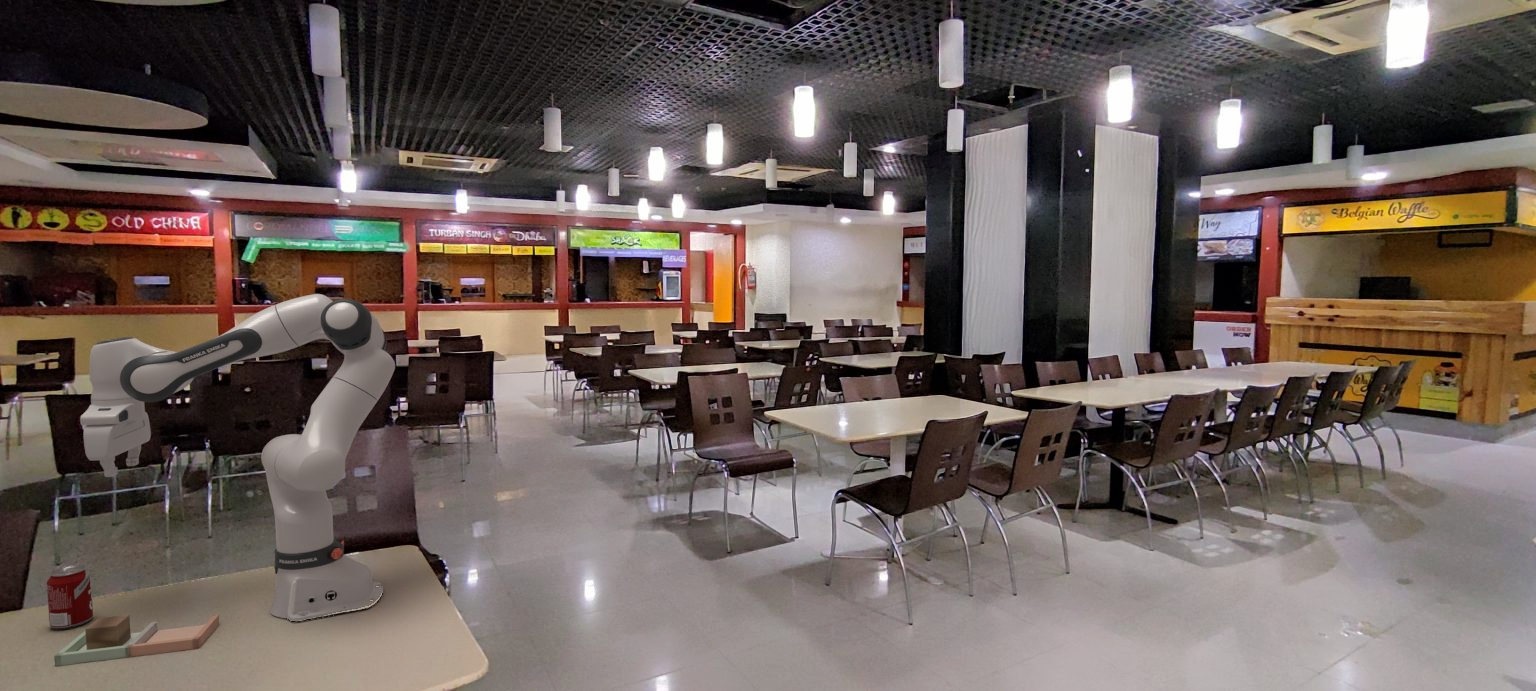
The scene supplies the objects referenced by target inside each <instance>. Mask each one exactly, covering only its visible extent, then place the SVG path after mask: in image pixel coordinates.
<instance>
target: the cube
mask: <svg viewBox="0 0 1536 691" xmlns="http://www.w3.org/2000/svg"><path fill="white" fill-rule="evenodd" d="M130 616H131V615H130V614H125V615H124V614H123V615H122V614H121V615H114V616H106V617H105V616H104V617H99V618H97V619H96V620H95V621H93V622H92V623H91V624H90V625H89V626H87V627H86V628H85V629H84V631H85V632H86V647H87V650H91V649H100V648H108V647H116V646H123V645H124V644H125V643H126V642H127V641H128V640H129V639H130V638H131V619H130V618H131V617H130Z"/></svg>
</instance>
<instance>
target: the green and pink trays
mask: <svg viewBox="0 0 1536 691" xmlns="http://www.w3.org/2000/svg"><path fill="white" fill-rule="evenodd" d="M219 625H220V614H215V615H212V617H210V619H209V620H208V621H207V622H206V624H201V625H200V624H199V625H193V626H192V625H191V626H183V627H174V628H166V629H165V628H164V629H158V621H152V622H150V623H149V624H148V625H147V626H146V627H145V628H144V629H143V630H142V631H139V632H138V631H137V632H132V633H131V632H130V633H131V638H130V639H129V640H128V641H127V642H126V643H125V644H124V645H123V646H116V647H108V648H100V649H91V650H87V647H86V632H85V630H84V631H83V632H81V633H80V634H79V635H78V636H77V637H75V638H74V639H73V640H72V641H70V642H69V643H68V644H67V645H66V646H65V647H63V648H62V649H61V650H60V651H58V652H57V653H56V654H55V655H54V656H53V657H54V658H53V659H54V666H55V667H58V666H65V665H75V664H81V663H90V662H97V661H106V660H107V661H109V660H115V659H123V658H124V659H125V658H130V657H131V658H132V657H139V656H148V655H154V654H164V653H172V652H180V651H186V650H187V651H188V650H195V649H200V647H201V646H202V645H203V644H204V643H205V642H206V640H207V639H208V637H210V635H211V634H212V633H213V632H214V631H215V629H216V628H217V627H218V626H219Z"/></svg>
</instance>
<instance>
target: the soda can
mask: <svg viewBox="0 0 1536 691" xmlns="http://www.w3.org/2000/svg"><path fill="white" fill-rule="evenodd" d="M49 575H50V576H49V578H48V579H47V581H46V591H47V592H46V593H47V605H48V606H47V607H48V621H49V627H51V628H52V629H58V630H67V629H73V628H76V627H79V626H82V625H84V624H86V623H87V622H88V621H90V620H91V619H93V617H94V607H93V593H92V591H93V590H92V575H91V573H90V571H89V570H88V569H87V565H83V564H73V565H68V566H67V565H66V566H62V567H59V568H56V569H53V570H52V571H51V572H50V574H49Z"/></svg>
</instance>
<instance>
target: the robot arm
mask: <svg viewBox="0 0 1536 691" xmlns="http://www.w3.org/2000/svg"><path fill="white" fill-rule="evenodd" d="M316 340H328V341H331V344H332V345H333V347H334V348H335V349H337V350H338V351H339V352H340V353H341V354H342V355H343V356H344V358H343V362H342V364H341V366H339V368H338V369H337V371H336V372H335V374H334V375H333V376H332V378H331V379H330V380H329V381H328V382H327V384H326V385H325V387H324V388H323V390H322V391H321V392H320V394H319V395H318V396H317V398H316V399H315V400H314V402H313V403H312V404H311V406H310V414H309V417H308V419H307V422H306V425H305V426H304V429H303V431H302V433H300V434H299V433H298V434H297V433H292V434H284V435H280V436H276V437H274V438H272V439H271V440H270V441H269V442H267V443H266V445H264V447H263V449H262V452H261V456H260V458H261V459H260V460H261V464H262V466H263V469H264V472H265V477H266V481H267V487H268V491H269V496H270V500H271V504H272V508H273V509H272V510H273V514H274V523H275V525H274V526H275V540H276V542H275V543H276V548H275V549H274V553H273V567H274V574H276V575H275V577H276V579H275V589H274V594H273V599H272V603H271V606H270V609H269V610H270V611H269V612H270V614H271V615H272V616H274V617H277V618H281V619H282V618H283V619H286V618H287V619H286V620H288V619H289V620H290V621H289V620H288V621H289V622H291V621H299V620H304V619H310V618H313V617H319V616H324V615H328V614H332V613H336V612H342V611H347V610H352V609H358V608H361V607H365V606H369V605H371V604H372V603H374V602H375V601H376V600H377V599H378V598H379V597H380V595H381V593H382V591H383V592H384V586H383V584H382V583H381V582H378V581H373V578H372V573H371V570H370V569H369V567H368V566H367V565H366V564H363V563H362V562H359V561H358V560H355V559H354V558H351V557H349V556H348V555H346V554H345V541H344V540H342V541H341V542H339V541H338V540H336V539H335V538H334V519H333V518H334V517H333V506H332V504H331V502H330V500H329V497H328V494H327V491H329V490H330V489H332V488H334V487H336V485H338V484H339V483H340V481H341V480H342V479H343V477H344V475H345V471H346V459H347V456H348V454H349V451H350V449H351V446H352V444H353V441H354V439H355V437H356V434H357V432H358V431H359V429H360V427H361V426H362V424H363V423H364V421H365V420H366V418H367V417H368V415H369V413H371V411H372V410H373V409H374V407H375V405H376V404H377V402H378V401H379V399H380V398H381V397H382V395H383V393H384V392H385V391H386V388H387V387H388V384H389V383H390V381H391V379H392V376H393V375H394V372H395V369H396V363H395V360H394V359H393V357H392V356H391V355H390V353H388V352H387V351H386V349H387V343H388V342H387V336H386V334H385V331H384V330H383V328H382V327H381V325H380V323H379V320H378V319H377V318H376V316H374V314H373V313H372V312H371V311H370V310H369V308H368V307H367V306H365V304H363V303H361V302H360V301H358V300H356V299H355V300H354V299H352V298H340V299H336V300H332V299H331V298H329V297H328V296H326V295H324V294H321V293H312V294H309V295H303V296H298V297H296V298H292V299H291V298H290V299H289V300H284V301H282V302H278V303H276V304H274V305H272V306H268V307H266V308H264V309H263V310H260V311H258V312H255V313H254V314H253V315H251V316H249V317H247V318H246V319H244V320H243V321H241V322H240V323H238V324H236V325H235V326H234V327H232V328H230V329H229V330H227V331H226V332H224V333H223V334H220V335H218V336H217V337H214V338H212V339H209V340H207V341H204V342H202V343H198V344H196V345H194V346H191V347H188V348H185V349H182V350H181V351H173V350H168V349H164V348H159V347H156V346H152V345H151V344H147V343H145V342H142V341H141V340H139V339H138V338H136V337H133V336H126V337H118V338H112V339H111V338H110V339H106V340H101V341H99V342H97V343H95V344H94V345H93V346H92V347H91V349H90V353H89V361H88V362H89V367H88V368H89V371H88V372H89V380H90V381H89V382H90V383H91V386H92V391H91V395H90V404H89V406H88V408H87V409H86V410H85V412H83V414H81V415H80V418H79V420H80V425H81V426H84V428H83V446H84V452H85V456H86V458H87V459H88V460H89V461H99V464H100V466H101V468H102V469H103V474H104V477H105V478H111V477H115V476H117V475H118V473H119V472H118V468H119V467H118V466H116V464H115V461H116V457H117V456H119V455H121V454H123V453H125V452H127V451H128V452H127V458H126V459H125V463H126V466H127V467H135V466H137V465H139V464H140V462H139V461H140V460H139V459H140V458H139V457H140V453H141V451H142V445H144V444H146V443H147V442H149V441H150V440H151V436H152V431H151V425H150V419H149V415H148V412H146V408H145V403H155V402H160V401H164V400H166V399H167V398H169V397H170V396H172V395H173V394H175V393H177V392H179V391H181V390H183V389H185V388H187V387H188V386H189V385H191V384H192V382H193V381H194V380H195V378H197V377H199V376H202V375H204V374H206V373H209V372H211V371H213V370H216V369H219V368H221V367H223V366H227V365H229V364H233V363H236V362H240V361H244V360H249V359H256V358H261V357H266V356H271V355H275V354H280V353H284V352H287V351H290V350H293V349H296V348H299V347H301V346H303V345H306V344H308V343H311V342H313V341H316ZM381 585H382V586H381ZM376 586H379V587H376ZM370 600H373V601H370Z"/></svg>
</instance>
